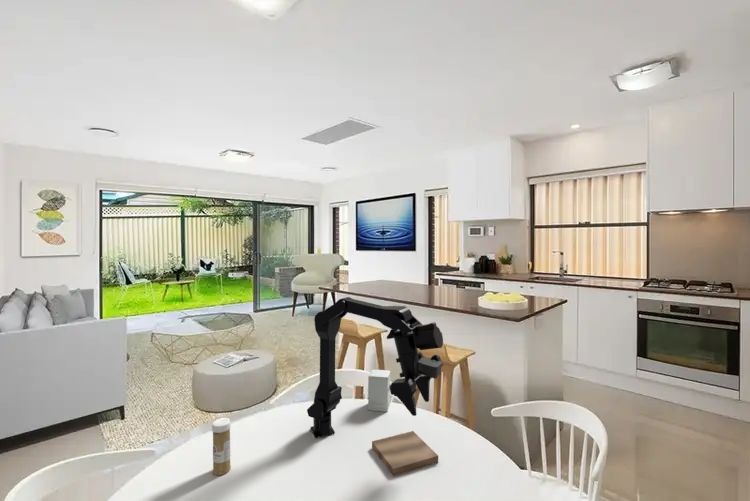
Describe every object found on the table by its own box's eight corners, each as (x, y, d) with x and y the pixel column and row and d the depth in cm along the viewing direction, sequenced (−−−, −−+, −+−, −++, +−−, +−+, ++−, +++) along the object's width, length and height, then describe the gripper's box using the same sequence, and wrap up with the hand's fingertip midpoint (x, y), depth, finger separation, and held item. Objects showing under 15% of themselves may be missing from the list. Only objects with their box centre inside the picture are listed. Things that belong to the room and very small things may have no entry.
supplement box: (387, 412, 129) (387, 377, 128) (367, 410, 130) (367, 376, 130) (391, 403, 136) (391, 370, 136) (371, 401, 138) (371, 368, 137)
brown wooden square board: (372, 447, 107) (372, 441, 107) (413, 437, 113) (413, 430, 112) (393, 476, 94) (393, 468, 94) (438, 462, 100) (438, 455, 100)
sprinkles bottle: (208, 473, 95) (208, 423, 95) (222, 463, 100) (221, 416, 99) (222, 477, 94) (221, 427, 93) (235, 467, 98) (234, 419, 98)
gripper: (421, 358, 88) (436, 423, 87) (445, 340, 105) (458, 393, 103) (382, 363, 94) (396, 423, 92) (411, 344, 110) (423, 395, 109)
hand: (421, 408), depth 99 cm, fingers open, 9 cm apart
